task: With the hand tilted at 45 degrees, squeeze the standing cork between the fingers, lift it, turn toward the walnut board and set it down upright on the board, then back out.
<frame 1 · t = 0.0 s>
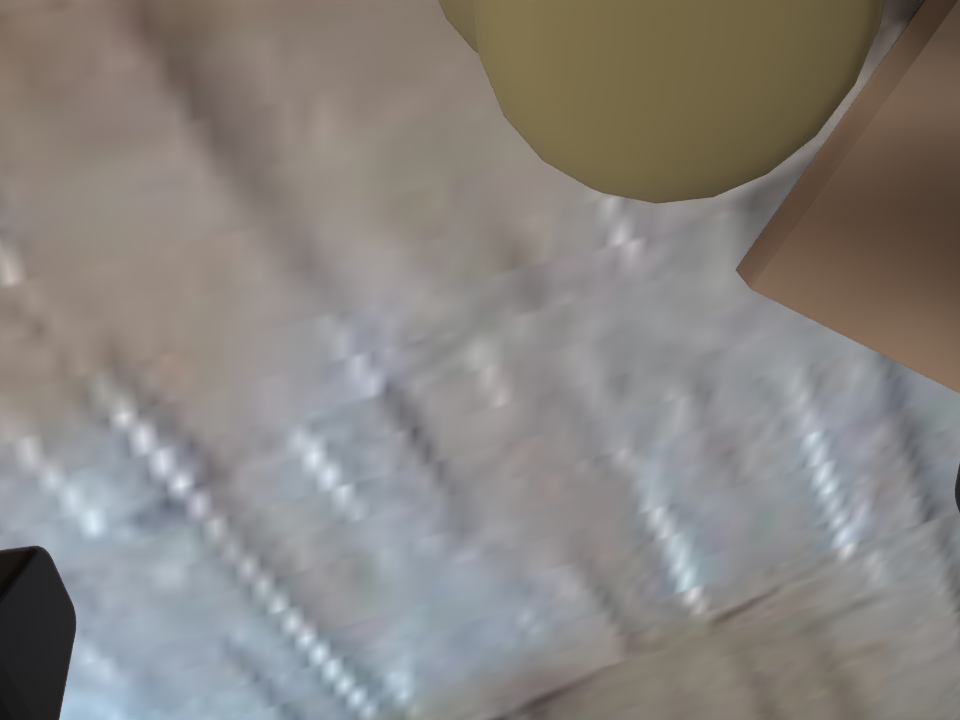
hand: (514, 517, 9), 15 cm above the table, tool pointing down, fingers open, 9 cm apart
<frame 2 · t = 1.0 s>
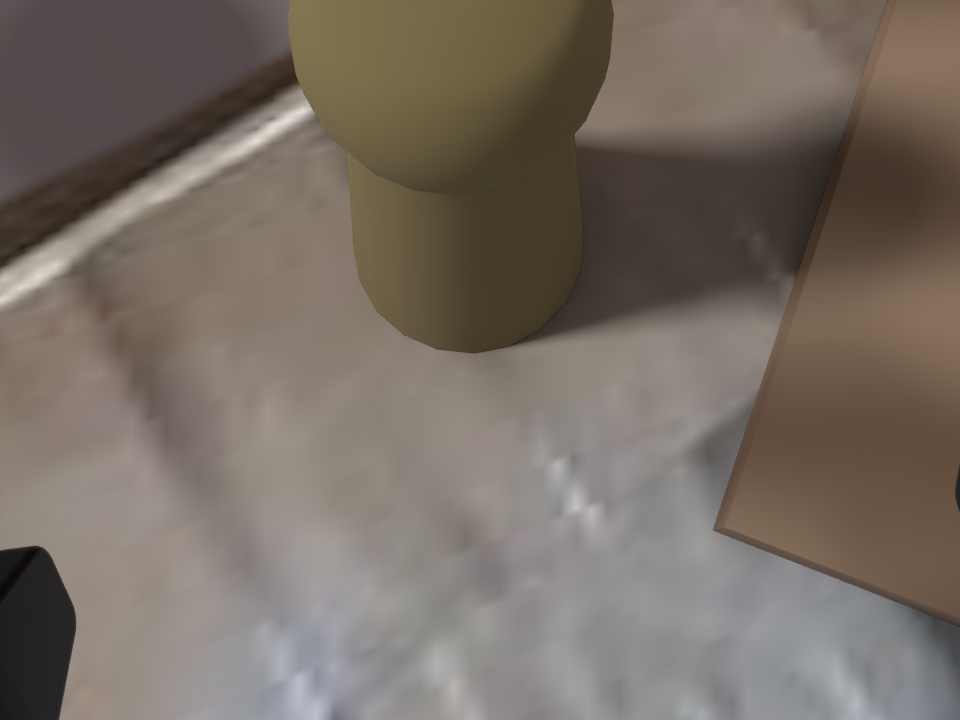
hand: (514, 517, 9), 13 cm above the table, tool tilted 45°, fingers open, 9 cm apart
cork: (468, 244, 24), on the table
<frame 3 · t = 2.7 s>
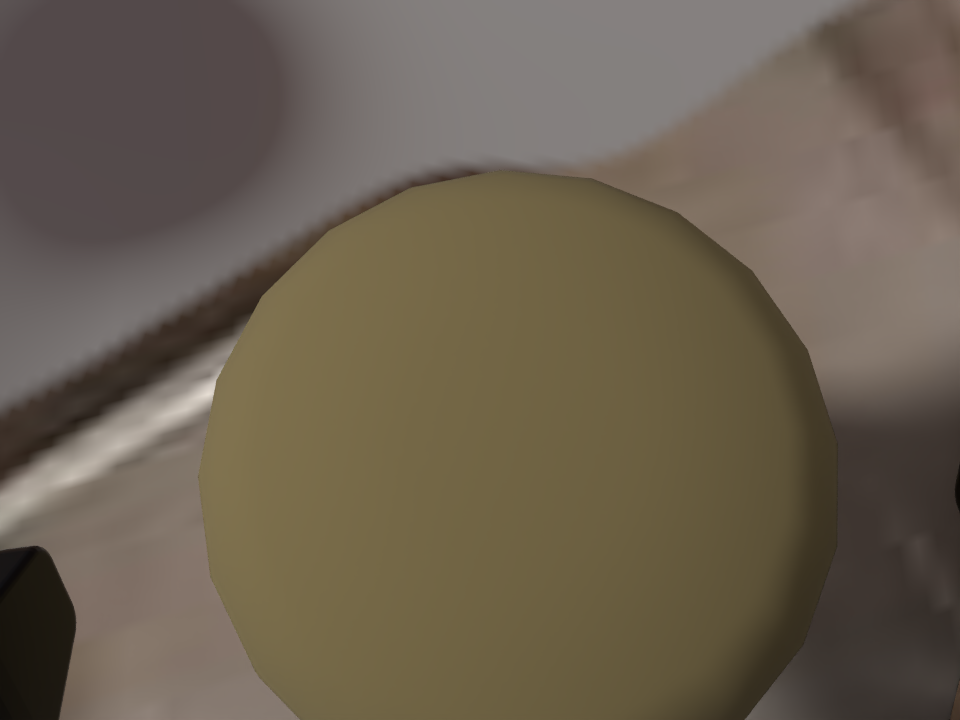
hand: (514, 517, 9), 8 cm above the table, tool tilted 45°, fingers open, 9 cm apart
cork: (506, 547, 17), on the table
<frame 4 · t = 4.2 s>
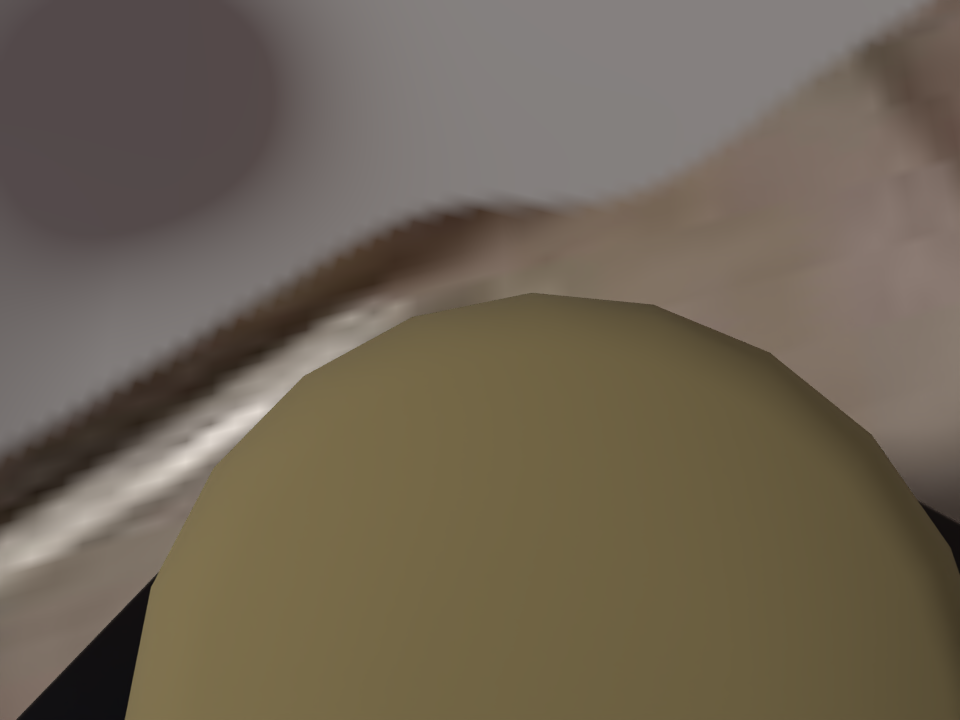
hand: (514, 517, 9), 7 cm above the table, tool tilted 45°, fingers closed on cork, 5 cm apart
cork: (518, 637, 15), on the table, touching gripper
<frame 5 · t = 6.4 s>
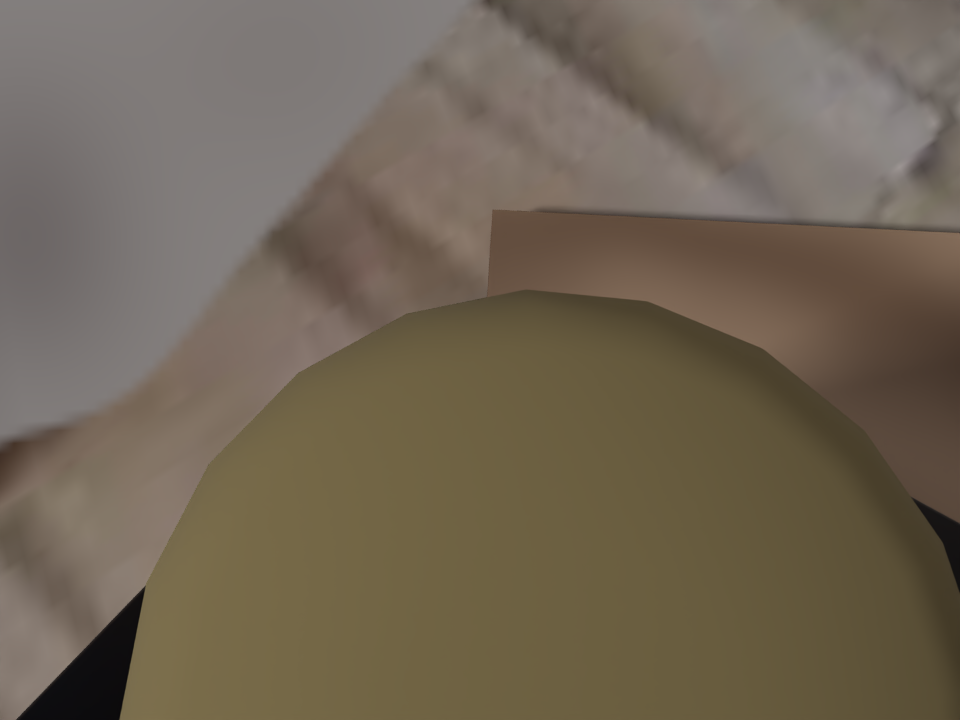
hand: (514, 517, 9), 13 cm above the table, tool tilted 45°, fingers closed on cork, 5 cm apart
cork: (515, 633, 15), point 6 cm above the table, touching gripper
walnut board: (766, 598, 21), on the table
when the fingers open (9 cm above the table, at t = 8.7 s): cork drops 1 cm, resting on walnut board.
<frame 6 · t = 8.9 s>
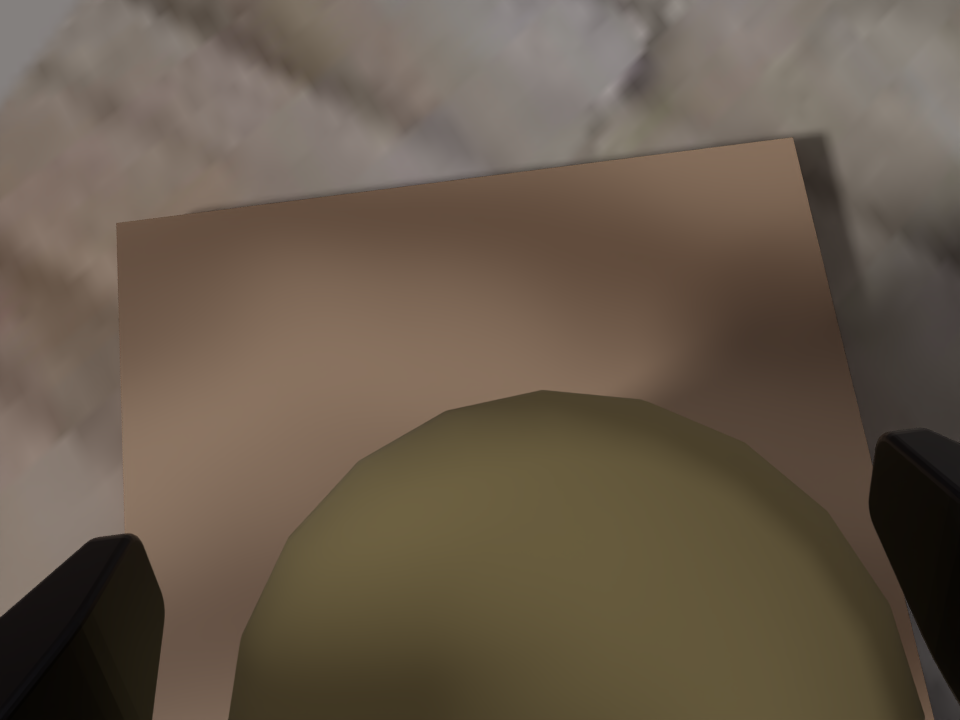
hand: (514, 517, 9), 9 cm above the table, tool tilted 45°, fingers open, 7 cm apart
cork: (517, 637, 16), point 1 cm above the table, touching walnut board
walnut board: (516, 631, 17), on the table
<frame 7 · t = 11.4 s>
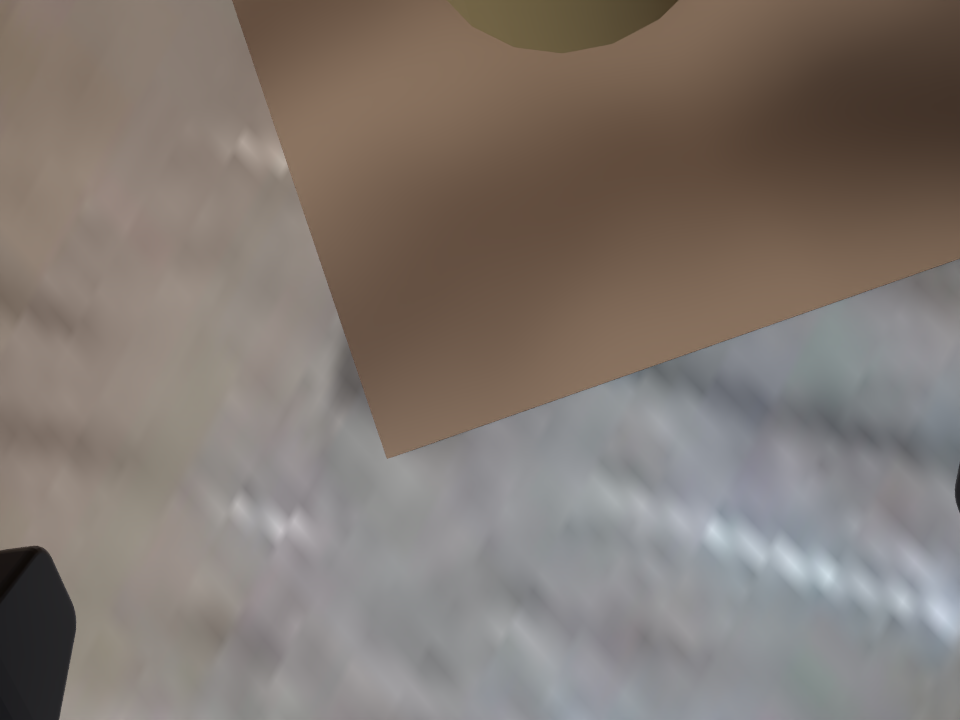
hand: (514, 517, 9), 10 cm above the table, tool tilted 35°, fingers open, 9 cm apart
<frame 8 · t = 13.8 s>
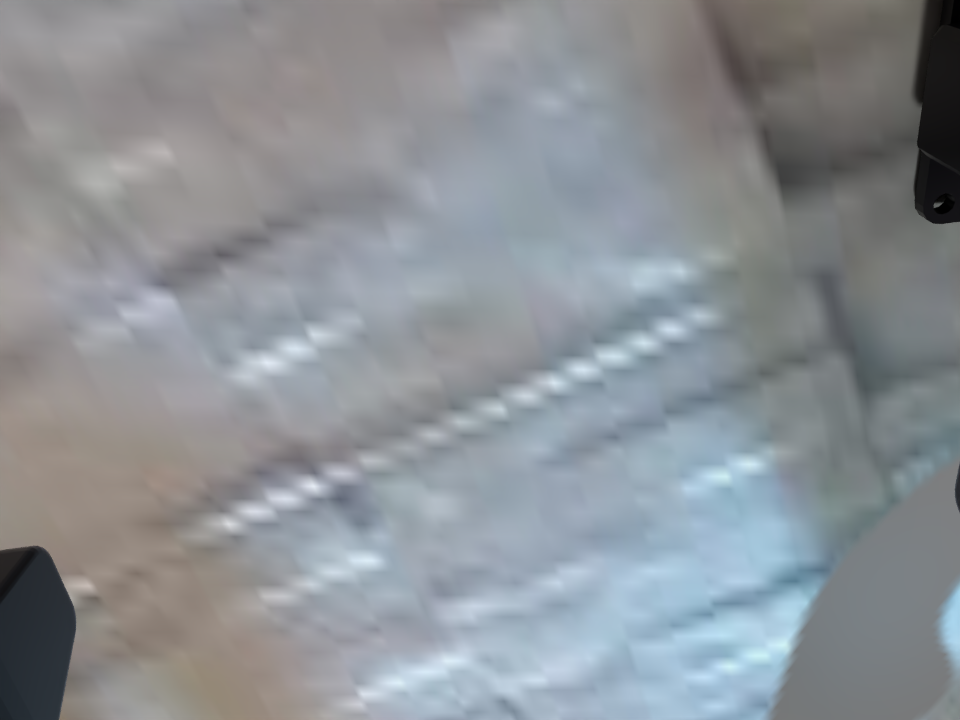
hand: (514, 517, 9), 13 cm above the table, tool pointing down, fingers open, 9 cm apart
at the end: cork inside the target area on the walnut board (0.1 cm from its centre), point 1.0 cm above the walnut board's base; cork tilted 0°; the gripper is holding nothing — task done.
